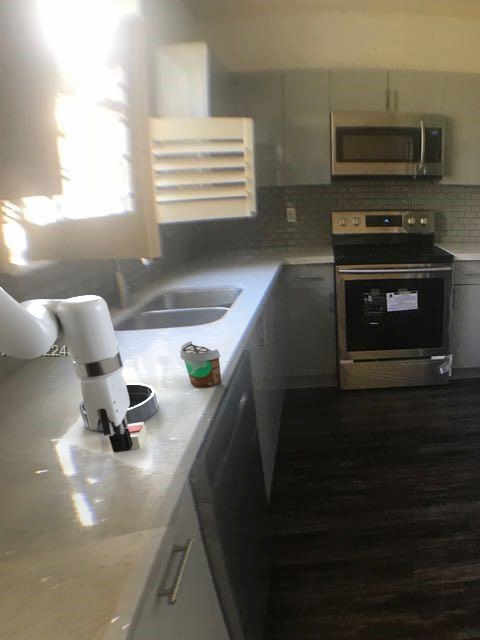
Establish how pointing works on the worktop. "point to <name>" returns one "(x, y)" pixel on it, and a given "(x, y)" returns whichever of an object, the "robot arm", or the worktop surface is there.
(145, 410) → the pan
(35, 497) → the worktop surface
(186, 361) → the food container
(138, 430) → the block
